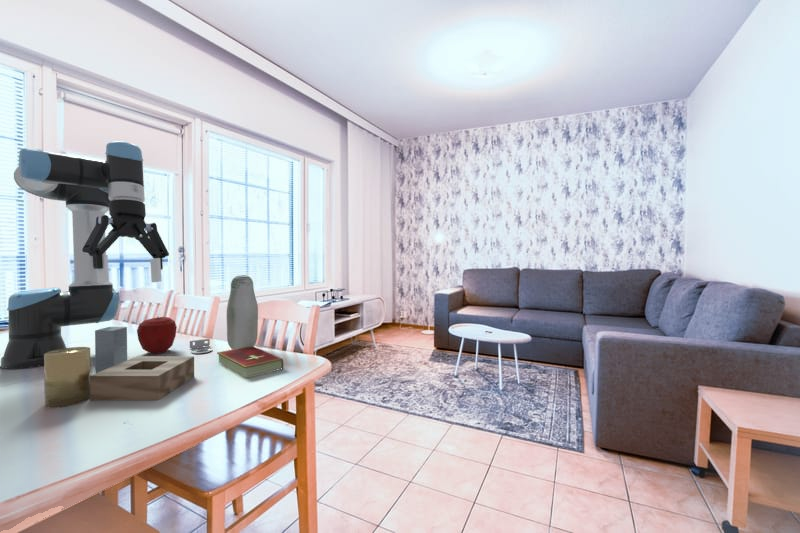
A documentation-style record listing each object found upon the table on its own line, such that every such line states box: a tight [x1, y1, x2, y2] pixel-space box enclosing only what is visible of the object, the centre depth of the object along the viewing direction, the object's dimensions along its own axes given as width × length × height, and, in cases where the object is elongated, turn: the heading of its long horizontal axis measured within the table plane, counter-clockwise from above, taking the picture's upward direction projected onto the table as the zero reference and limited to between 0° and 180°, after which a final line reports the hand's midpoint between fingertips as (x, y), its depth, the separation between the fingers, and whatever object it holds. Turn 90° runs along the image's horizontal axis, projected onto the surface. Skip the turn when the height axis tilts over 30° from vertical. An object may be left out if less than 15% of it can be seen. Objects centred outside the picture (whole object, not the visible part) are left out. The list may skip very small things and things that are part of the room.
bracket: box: [189, 338, 213, 355], centre depth 127 cm, size 7×10×4 cm, turn 36°
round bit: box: [43, 346, 92, 409], centre depth 84 cm, size 8×8×12 cm
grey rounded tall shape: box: [226, 274, 259, 350], centre depth 127 cm, size 10×10×28 cm
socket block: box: [89, 355, 195, 401], centre depth 92 cm, size 16×16×6 cm
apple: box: [136, 316, 178, 355], centre depth 124 cm, size 12×12×13 cm
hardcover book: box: [216, 346, 284, 379], centre depth 111 cm, size 12×21×4 cm, turn 48°
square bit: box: [94, 326, 128, 374], centre depth 99 cm, size 5×5×14 cm
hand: (131, 282), depth 90 cm, fingers open, 13 cm apart
